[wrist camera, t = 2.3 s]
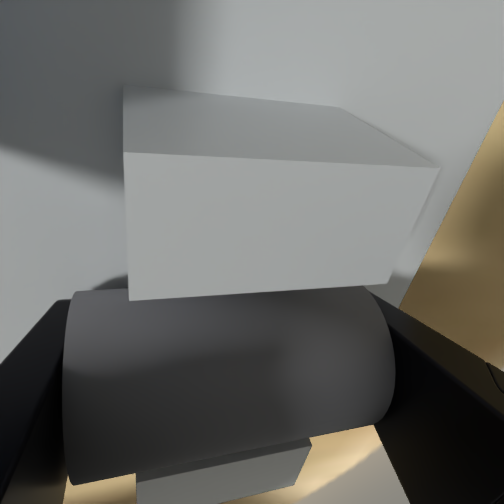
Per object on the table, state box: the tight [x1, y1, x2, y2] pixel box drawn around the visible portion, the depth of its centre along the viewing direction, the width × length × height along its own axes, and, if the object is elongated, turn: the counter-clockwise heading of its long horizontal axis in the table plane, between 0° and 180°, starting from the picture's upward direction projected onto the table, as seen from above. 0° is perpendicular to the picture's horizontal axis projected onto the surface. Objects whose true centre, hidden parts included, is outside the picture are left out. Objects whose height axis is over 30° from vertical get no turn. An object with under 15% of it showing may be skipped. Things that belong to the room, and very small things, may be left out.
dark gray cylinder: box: [62, 285, 395, 486], centre depth 8 cm, size 6×4×4 cm, turn 81°
